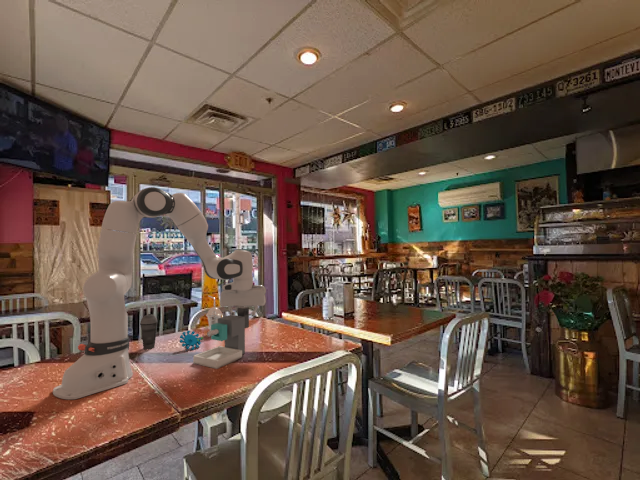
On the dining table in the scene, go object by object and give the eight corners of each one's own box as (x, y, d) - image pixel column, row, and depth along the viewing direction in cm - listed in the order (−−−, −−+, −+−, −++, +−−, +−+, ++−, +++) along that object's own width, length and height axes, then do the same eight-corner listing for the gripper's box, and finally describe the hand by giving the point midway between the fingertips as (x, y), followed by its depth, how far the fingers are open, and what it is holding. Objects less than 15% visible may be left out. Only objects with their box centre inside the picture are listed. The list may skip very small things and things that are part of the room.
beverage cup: (150, 350, 142) (150, 306, 142) (136, 350, 143) (136, 306, 143) (161, 345, 149) (161, 303, 149) (147, 345, 150) (147, 303, 150)
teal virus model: (183, 349, 138) (178, 330, 144) (177, 357, 141) (173, 337, 146) (206, 346, 146) (201, 328, 152) (201, 354, 149) (196, 336, 154)
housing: (231, 359, 131) (231, 320, 131) (217, 356, 134) (217, 318, 135) (244, 353, 138) (244, 316, 138) (231, 350, 141) (231, 314, 142)
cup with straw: (207, 336, 164) (207, 297, 165) (204, 332, 172) (204, 295, 173) (223, 333, 168) (223, 296, 169) (220, 330, 176) (220, 294, 177)
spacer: (221, 341, 127) (221, 326, 127) (211, 339, 130) (211, 324, 130) (227, 339, 130) (227, 324, 130) (216, 337, 133) (216, 323, 133)
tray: (216, 369, 120) (216, 361, 120) (193, 363, 126) (193, 355, 126) (242, 357, 132) (242, 350, 133) (219, 352, 139) (219, 345, 139)
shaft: (212, 339, 124) (212, 316, 124) (205, 338, 126) (205, 315, 126) (248, 327, 143) (248, 307, 143) (242, 326, 145) (242, 306, 145)
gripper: (267, 284, 146) (267, 314, 146) (222, 284, 146) (223, 314, 146) (264, 285, 140) (265, 317, 140) (218, 286, 140) (218, 317, 140)
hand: (243, 315), depth 143 cm, fingers open, 8 cm apart
